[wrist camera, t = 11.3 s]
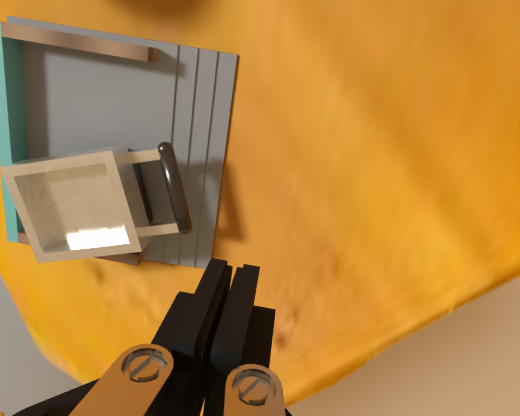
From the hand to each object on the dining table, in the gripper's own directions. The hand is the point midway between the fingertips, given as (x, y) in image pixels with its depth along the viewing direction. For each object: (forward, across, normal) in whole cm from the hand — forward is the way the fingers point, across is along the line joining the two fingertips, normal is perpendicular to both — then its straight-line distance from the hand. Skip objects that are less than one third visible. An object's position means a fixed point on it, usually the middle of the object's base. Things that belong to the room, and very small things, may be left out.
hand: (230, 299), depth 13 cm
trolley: (+19, +13, +5) cm, 23 cm away
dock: (+20, +13, +2) cm, 24 cm away
